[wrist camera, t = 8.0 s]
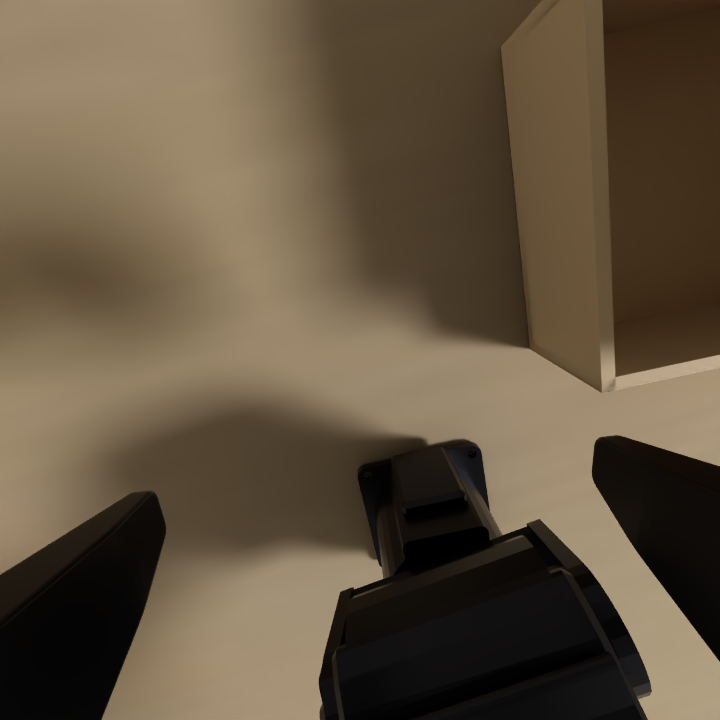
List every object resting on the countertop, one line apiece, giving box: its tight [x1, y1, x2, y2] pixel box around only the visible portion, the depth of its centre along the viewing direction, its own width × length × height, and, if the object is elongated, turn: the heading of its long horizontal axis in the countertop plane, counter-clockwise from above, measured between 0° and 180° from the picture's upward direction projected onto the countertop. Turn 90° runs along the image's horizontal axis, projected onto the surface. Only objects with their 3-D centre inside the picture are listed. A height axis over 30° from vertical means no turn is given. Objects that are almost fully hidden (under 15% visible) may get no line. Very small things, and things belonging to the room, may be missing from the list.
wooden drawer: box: [501, 0, 720, 393], centre depth 16 cm, size 13×11×6 cm
